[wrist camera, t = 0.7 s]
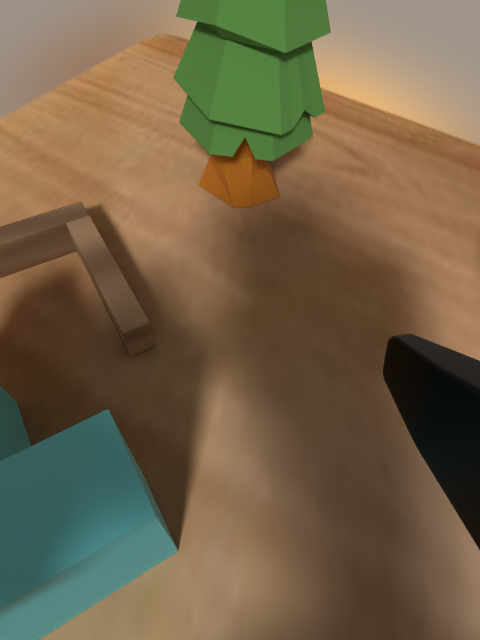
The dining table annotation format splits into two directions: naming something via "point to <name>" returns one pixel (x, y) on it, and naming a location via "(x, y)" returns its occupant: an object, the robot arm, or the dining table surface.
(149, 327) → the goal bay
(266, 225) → the dining table surface
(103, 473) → the t block
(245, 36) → the decorative tree
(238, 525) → the dining table surface
